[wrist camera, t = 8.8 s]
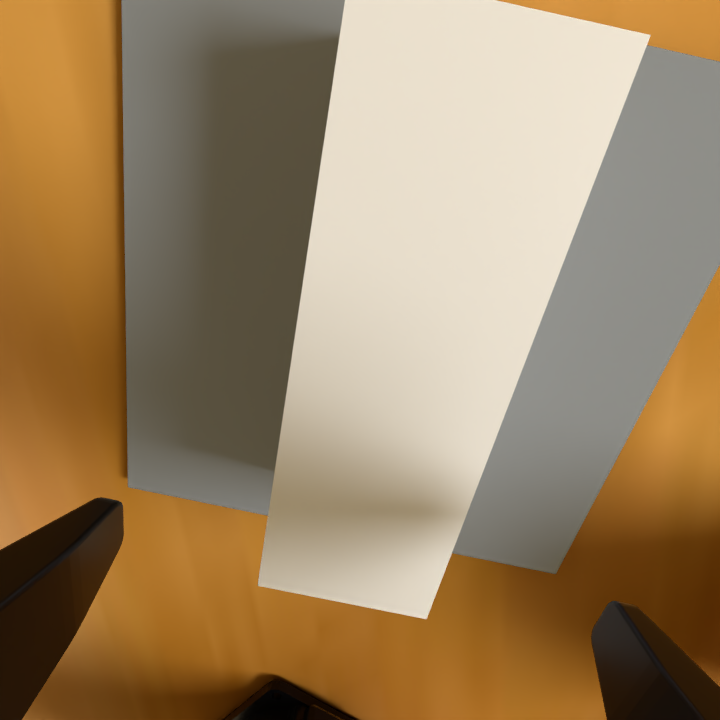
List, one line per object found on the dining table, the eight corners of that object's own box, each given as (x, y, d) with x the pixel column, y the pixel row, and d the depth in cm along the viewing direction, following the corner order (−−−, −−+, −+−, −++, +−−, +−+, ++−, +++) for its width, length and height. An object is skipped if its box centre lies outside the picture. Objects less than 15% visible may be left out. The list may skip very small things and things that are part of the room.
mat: (552, 565, 18) (555, 574, 17) (133, 480, 17) (127, 487, 17) (801, 85, 11) (815, 83, 11) (129, -67, 11) (120, -75, 10)
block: (426, 619, 12) (651, 34, 7) (257, 586, 12) (349, -33, 7) (418, 501, 16) (555, 77, 11) (292, 476, 16) (366, 35, 11)
